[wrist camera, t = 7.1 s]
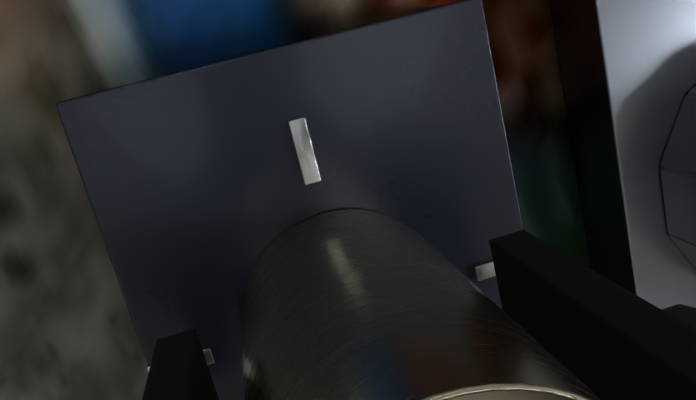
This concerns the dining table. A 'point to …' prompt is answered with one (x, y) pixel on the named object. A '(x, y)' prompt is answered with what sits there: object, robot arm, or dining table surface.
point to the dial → (382, 322)
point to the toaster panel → (293, 164)
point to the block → (634, 138)
